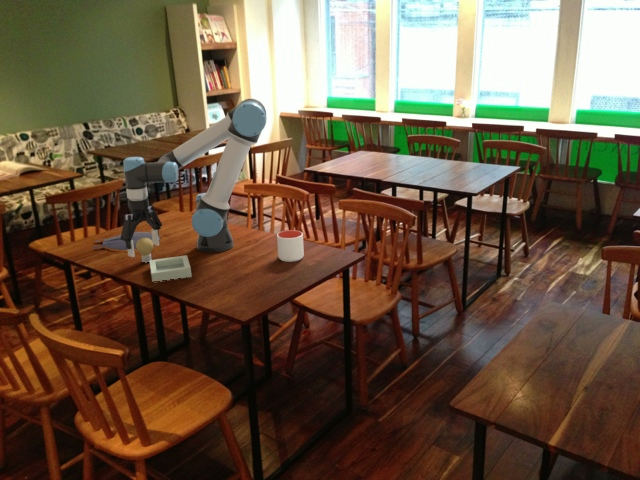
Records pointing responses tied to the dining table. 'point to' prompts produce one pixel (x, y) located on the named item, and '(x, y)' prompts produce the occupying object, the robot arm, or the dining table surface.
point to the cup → (290, 245)
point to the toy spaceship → (120, 244)
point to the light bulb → (145, 248)
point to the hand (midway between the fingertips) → (144, 250)
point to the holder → (170, 268)
